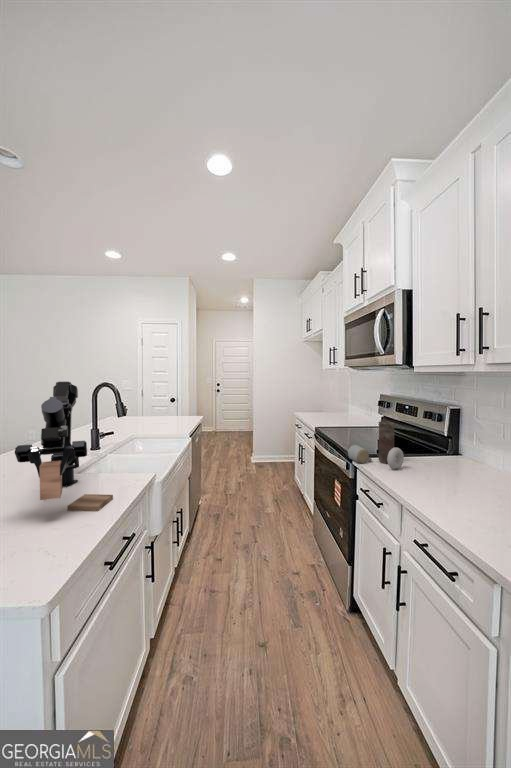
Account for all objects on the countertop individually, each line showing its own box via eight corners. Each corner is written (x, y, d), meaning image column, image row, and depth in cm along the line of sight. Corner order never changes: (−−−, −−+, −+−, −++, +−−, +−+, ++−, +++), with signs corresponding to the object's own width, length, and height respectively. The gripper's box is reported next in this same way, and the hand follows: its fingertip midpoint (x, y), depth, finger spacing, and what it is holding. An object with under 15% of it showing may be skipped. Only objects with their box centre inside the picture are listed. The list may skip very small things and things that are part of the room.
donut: (398, 466, 156) (398, 445, 155) (405, 468, 153) (405, 446, 152) (385, 469, 150) (385, 448, 150) (392, 471, 147) (392, 449, 147)
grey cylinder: (357, 464, 159) (357, 448, 158) (347, 460, 166) (347, 445, 166) (375, 463, 162) (376, 447, 162) (365, 458, 170) (365, 444, 170)
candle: (375, 460, 167) (376, 420, 166) (389, 459, 167) (390, 420, 167) (382, 464, 159) (383, 423, 158) (397, 464, 160) (397, 422, 159)
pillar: (43, 494, 100) (42, 462, 100) (62, 492, 102) (61, 460, 102) (40, 500, 96) (39, 466, 95) (60, 497, 98) (59, 464, 97)
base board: (84, 498, 115) (84, 494, 115) (112, 499, 115) (112, 494, 114) (67, 510, 105) (67, 505, 105) (97, 511, 105) (97, 506, 104)
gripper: (15, 418, 98) (5, 465, 88) (86, 415, 105) (84, 458, 96) (22, 439, 105) (14, 485, 96) (87, 435, 113) (86, 476, 103)
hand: (50, 475), depth 97 cm, fingers closed on pillar, 5 cm apart
